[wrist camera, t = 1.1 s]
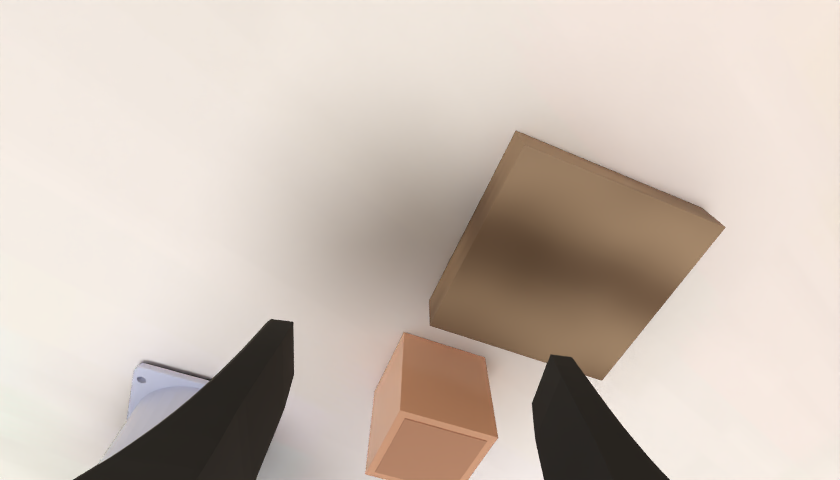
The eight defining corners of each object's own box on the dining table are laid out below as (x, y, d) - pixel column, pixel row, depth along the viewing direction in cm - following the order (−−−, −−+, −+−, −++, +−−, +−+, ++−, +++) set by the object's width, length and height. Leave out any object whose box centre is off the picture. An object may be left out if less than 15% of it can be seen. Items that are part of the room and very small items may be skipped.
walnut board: (587, 348, 28) (601, 380, 25) (428, 296, 26) (429, 325, 24) (696, 203, 23) (725, 227, 21) (513, 127, 21) (524, 144, 19)
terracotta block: (450, 412, 30) (455, 497, 25) (374, 391, 29) (364, 475, 24) (484, 356, 27) (498, 438, 23) (403, 331, 27) (400, 410, 22)
